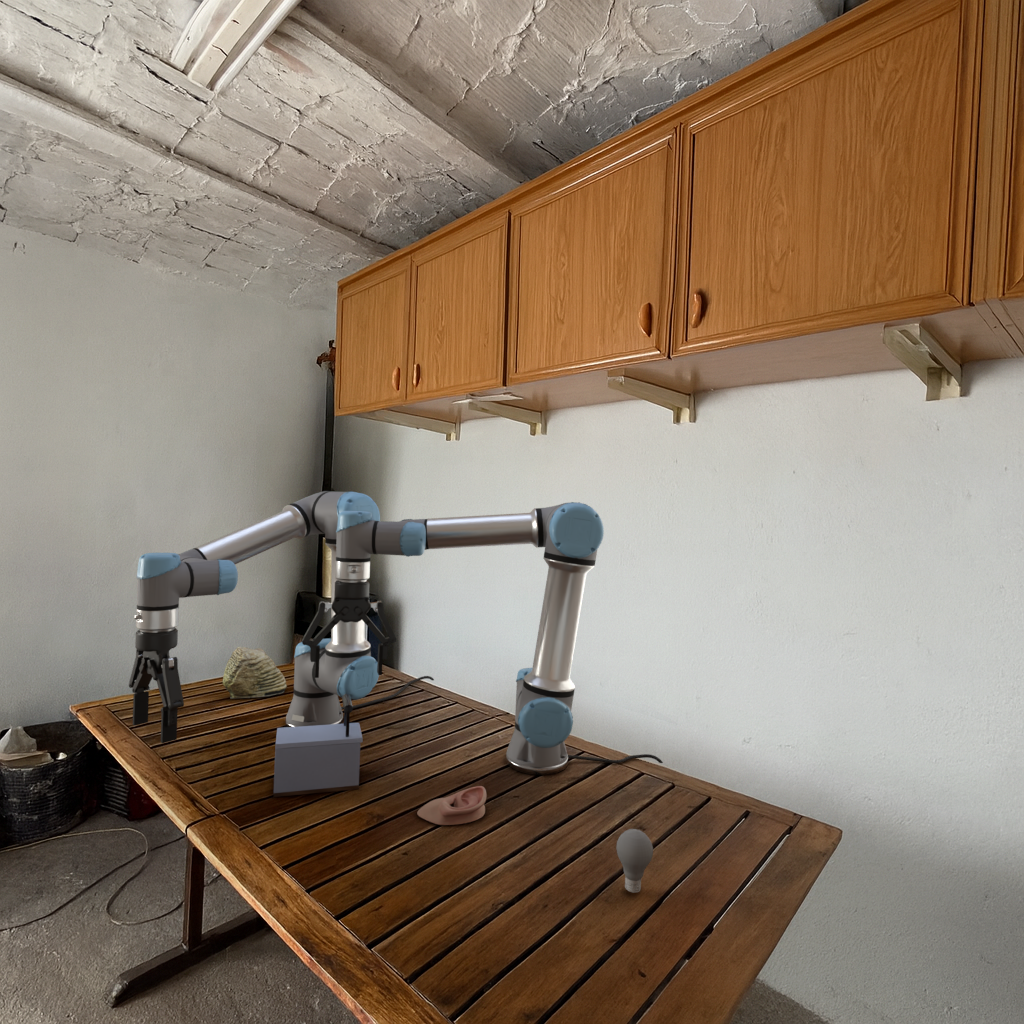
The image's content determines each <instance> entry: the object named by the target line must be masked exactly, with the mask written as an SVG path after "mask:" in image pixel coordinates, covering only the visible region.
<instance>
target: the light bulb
mask: <svg viewBox="0 0 1024 1024" xmlns="http://www.w3.org/2000/svg"><path fill="white" fill-rule="evenodd" d="M615 849H616V854H617V857H618V859H619V861H620V863H621V865H622V867H623V873H624V874H623V875H624V876H625V878H624V888H625V890H627V891H628V892H630V893H634V894H635V893H639V892H640V891H641V889H642V887H641V886H642V879H643V877H644V875H645V871H646V868H647V867H648V866H649V864H650V863H651V861H652V859H653V855H654V847H653V843H652V841H651V838H649V836H648V835H647V834H646V833H645V832H643V831H642V830H641V829H636V828H629V829H627V830H625V831H623V832H622V833H621V834H620V835H619V837H618V839H617V841H616V847H615Z"/></svg>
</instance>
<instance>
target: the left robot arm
mask: <svg viewBox="0 0 1024 1024" xmlns="http://www.w3.org/2000/svg"><path fill="white" fill-rule="evenodd" d="M342 511H366V512H371V513H372V518H373V520H376V521H381V513H380V509H379V507H378V505H377V503H376V501H374V500H373V498H372V497H371V496H369V495H368V494H365V493H362V492H356V491H332V490H323V491H319V492H316V493H313V494H311V495H309V496H306V497H303V498H301V499H299V500H296V501H294V502H292V503H289V504H287V505H285V506H284V507H283V508H282V510H281V511H280V512H277V513H275V514H273V515H271V516H269V517H266V518H263V519H260V520H258V521H256V522H253V523H251V524H248V525H247V526H244V527H242V528H239V529H237V530H234V531H232V532H230V533H227V534H225V535H223V536H220V537H218V538H215V539H213V540H210V541H208V542H206V543H205V542H204V543H203V544H201V545H198V546H196V547H194V548H191V549H188V550H186V551H183V552H181V553H175V552H146V553H144V554H143V553H142V555H141V556H140V557H138V564H137V572H136V614H134V616H133V619H134V620H135V622H136V623H135V628H136V629H138V630H137V631H136V632H135V642H134V643H135V652H136V653H135V659H134V662H133V666H132V671H131V674H130V678H129V681H128V687H129V688H130V689H131V691H132V693H133V699H132V700H133V702H132V726H138V725H143V724H147V723H149V705H150V704H149V703H150V702H149V701H150V700H149V699H150V692H149V691H150V690H151V688H150V684H151V681H152V679H153V681H155V682H156V684H157V687H158V691H159V695H160V698H161V702H162V707H161V708H160V712H161V714H160V715H161V717H160V718H161V719H160V721H161V722H160V743H161V744H165V743H170V742H173V741H177V738H178V709H179V708H183V707H184V706H185V702H184V696H183V690H182V684H181V680H180V679H181V678H180V674H179V668H178V667H179V665H178V661H179V660H178V657H177V656H172V657H170V650H172V649H175V648H176V647H178V639H179V638H178V637H179V630H178V628H177V627H178V626H179V616H180V599H183V598H190V597H191V598H192V597H193V598H194V597H203V596H204V597H205V596H216V595H217V596H219V595H223V594H230V593H233V591H234V590H235V589H236V587H237V586H238V580H239V576H238V575H239V574H238V573H239V572H238V568H237V566H236V565H237V564H239V563H242V562H243V561H246V560H248V559H250V558H252V557H255V556H257V555H259V554H261V553H264V552H266V551H268V550H270V549H273V548H276V547H277V546H280V545H282V544H283V543H286V542H288V541H290V540H292V539H297V540H302V539H304V538H306V537H308V536H309V537H310V536H313V535H324V540H325V541H324V543H325V546H326V547H328V548H329V549H330V552H331V557H330V559H331V560H330V561H331V563H330V565H331V568H330V569H331V573H330V575H331V579H330V580H331V582H330V584H331V589H330V590H331V591H330V592H331V593H330V595H331V598H330V599H331V601H330V603H333V601H334V591H335V582H336V581H337V580H338V579H336V578H335V564H336V538H337V532H336V530H337V524H338V515H339V513H340V512H342ZM330 609H331V610H330V611H331V612H330V613H331V614H330V615H331V616H330V617H331V618H330V620H331V619H332V617H333V616H334V615H335V612H334V611H333V610H332V608H330ZM330 632H331V634H330V635H331V637H330V638H323V639H322V641H321V642H320V643H319V644H318V645H320V658H319V678H315V662H311V660H310V649H311V648H310V647H309V646H307V645H303V644H302V641H300V642H299V643H297V645H296V646H295V650H294V655H293V657H294V672H293V673H294V674H293V695H292V696H293V697H292V699H291V702H290V704H289V708H288V711H287V713H286V715H285V727H300V726H315V725H330V724H343V723H344V707H343V706H341V702H340V699H339V697H340V698H342V696H343V695H344V694H349V695H350V697H351V701H352V700H353V701H355V700H356V701H357V700H360V699H363V698H364V697H366V696H368V695H369V694H370V693H371V692H372V690H373V688H375V687H376V686H377V685H376V684H377V683H378V680H379V678H380V675H378V673H377V665H378V660H376V659H375V658H374V657H373V656H372V653H371V652H372V649H371V648H372V646H371V643H370V642H369V641H368V640H367V639H366V624H365V623H364V621H363V620H361V621H359V622H346V623H344V622H342V621H341V620H340V621H339V622H338V623H337V624H336V625H335V626H334V627H333V628H332V629H331V631H330ZM425 679H429V680H430V681H435V679H434V677H432V676H430V675H424V676H420V677H418V678H415V679H413V680H410V681H408V682H407V683H406V684H404V686H402V687H401V688H400V689H399V690H398V691H396V692H395V693H393V694H390V695H388V696H384V697H381V698H377V699H373V700H369V701H366V702H362V703H359V704H353V705H352V706H353V710H354V709H357V708H361V707H365V706H369V705H373V704H376V703H380V702H384V701H387V700H390V699H393V698H395V697H397V696H398V695H400V694H401V693H402V692H403V691H404V690H406V689H407V688H408V687H409V686H410V685H411V684H414V683H416V682H420V681H422V680H425Z"/></svg>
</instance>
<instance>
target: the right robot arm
mask: <svg viewBox="0 0 1024 1024" xmlns="http://www.w3.org/2000/svg"><path fill="white" fill-rule="evenodd" d="M336 532H337V538H336V564H335V578H336V579H338V580H337V581H336V582H335V591H334V601H333V603H331V602H326V601H324V600H321V601H319V604H318V610H317V612H316V614H315V615H314V617H313V619H312V620H311V623H310V624H309V627H308V628H307V630H306V632H305V634H304V636H303V637H302V640H301V642H302V644H303V645H307V646H309V647H310V648H311V649H310V660H311V662H315V678H319V658H320V645H318V644H319V643H320V642H321V641H322V639H325V638H326V636H328V634H329V633H330V632H331V629H332V628H333V627H334V626H335V625H336V624H337V623H338V622H339V621H340V620H341V621H342V622H344V623H346V622H359V621H361V620H363V621H364V623H365V626H367V627H368V628H369V630H370V631H371V632H372V633H373V635H374V636H375V637H376V638H377V639H378V640H379V641H380V643H378V645H377V662H378V665H377V673H378V675H379V676H382V675H383V660H387V659H388V651H389V646H390V644H394V643H396V642H397V637H396V635H395V633H394V631H393V629H392V626H391V624H390V622H389V620H388V619H387V616H386V614H385V612H384V603H383V602H382V600H377V601H373V602H370V582H369V579H370V578H371V577H370V576H371V555H383V556H384V555H386V556H401V557H402V556H403V557H404V556H405V557H420V556H422V555H424V554H425V551H427V550H442V549H461V548H480V547H496V546H498V547H499V546H514V545H515V546H517V545H533V546H534V547H535V548H537V549H539V548H544V551H543V552H544V553H543V560H544V562H545V563H546V564H547V566H548V570H547V576H546V582H545V588H544V594H543V599H542V606H541V613H540V619H539V625H538V632H537V637H536V643H535V649H534V650H535V652H534V656H533V662H532V667H525V668H521V669H519V670H518V671H517V675H516V679H515V682H516V689H515V691H516V693H515V715H514V731H513V733H512V736H511V738H510V741H509V744H508V747H507V748H506V752H505V762H506V764H507V765H508V767H510V768H512V769H513V770H515V771H518V772H521V773H524V774H528V775H529V774H530V775H538V776H539V775H540V776H541V775H542V776H543V775H553V774H558V773H560V772H563V771H564V770H566V768H567V767H568V766H569V765H568V763H569V759H571V760H572V759H574V760H580V761H581V760H583V761H590V762H599V763H605V764H622V763H625V762H627V761H630V760H633V759H634V760H635V759H643V758H644V759H645V758H647V759H653V760H655V761H657V762H658V763H659V764H663V763H664V762H663V761H662V759H660V758H659V757H658V756H656V755H653V754H650V753H649V754H648V753H646V754H645V753H643V754H633V755H628V756H625V757H624V758H621V759H607V758H600V757H591V756H583V755H573V754H568V751H567V747H566V744H565V741H566V740H567V739H568V737H569V736H570V734H571V732H572V729H573V725H574V719H573V718H574V716H573V713H572V709H573V702H574V698H575V697H574V695H575V690H576V686H575V683H574V682H573V681H572V679H571V672H572V666H573V660H574V653H575V647H576V641H577V635H578V629H579V622H580V617H581V616H580V615H581V611H582V605H583V597H584V593H585V592H584V591H585V587H586V579H587V574H588V573H589V572H590V571H591V570H592V569H594V568H595V567H596V560H597V556H598V549H599V548H600V546H601V544H602V542H603V539H604V535H605V528H604V523H603V521H602V518H601V517H600V515H599V513H598V512H597V510H595V509H594V508H593V507H591V506H590V505H588V504H587V503H584V502H583V503H582V502H574V501H571V502H563V503H560V504H557V505H552V506H547V507H536V508H533V509H532V510H531V511H529V512H520V513H519V512H518V513H506V514H505V513H503V514H486V515H485V514H484V515H471V516H470V515H469V516H453V517H451V516H450V517H449V516H448V517H433V518H432V517H431V518H418V519H417V518H415V519H413V518H405V519H402V520H399V521H389V520H388V521H385V520H384V521H383V520H382V521H381V520H380V521H376V520H373V518H372V513H371V512H366V511H342V512H340V513H339V515H338V524H337V530H336ZM331 608H332V610H333V611H334V612H335V615H334V616H333V617H332V619H331V618H330V620H329V621H328V622H327V623H326V624H325V625H324V626H323V627H322V629H321V630H320V631H319V632H318V633H317V634H316V635H315V637H314V638H313V637H312V636H313V635H314V633H315V631H316V630H317V628H318V626H319V624H320V622H321V621H322V619H323V617H324V614H325V613H328V612H329V610H330V609H331ZM371 608H372V609H373V611H374V612H375V613H377V615H378V616H379V619H380V621H381V623H382V625H383V627H384V629H385V631H386V634H387V635H388V636H387V637H385V635H384V634H383V633H382V631H381V630H380V629H379V628H378V627H377V625H376V624H375V623H374V622H373V621H372V620H371V618H370V617H369V616H368V615H367V614H368V612H370V610H371ZM312 638H313V639H312Z"/></svg>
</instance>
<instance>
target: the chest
mask: <svg viewBox="0 0 1024 1024" xmlns="http://www.w3.org/2000/svg"><path fill="white" fill-rule="evenodd" d="M274 749H275V748H274ZM360 764H361V742H359V743H345V744H332V745H319V746H305V747H292V748H278V749H275V750H274V770H273V771H274V774H273V775H274V776H273V795H272V796H273V798H279V797H289V796H291V797H292V796H299V795H309V794H320V793H321V794H322V793H330V792H331V793H332V792H341V791H351V790H359V789H360Z"/></svg>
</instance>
